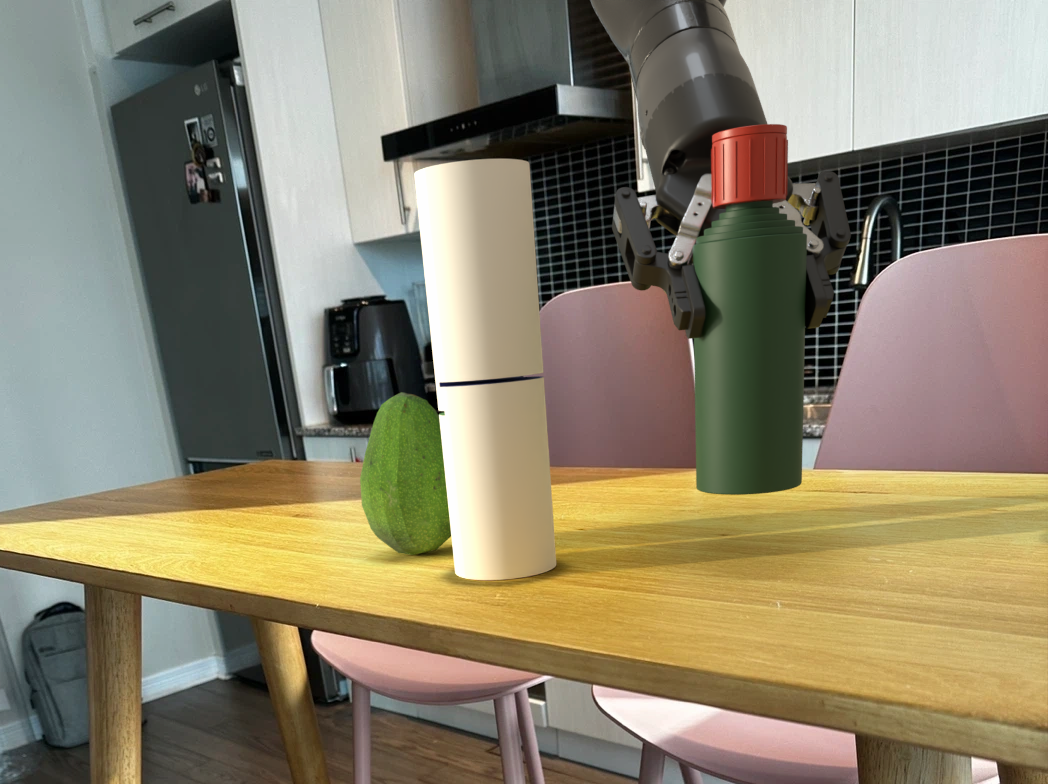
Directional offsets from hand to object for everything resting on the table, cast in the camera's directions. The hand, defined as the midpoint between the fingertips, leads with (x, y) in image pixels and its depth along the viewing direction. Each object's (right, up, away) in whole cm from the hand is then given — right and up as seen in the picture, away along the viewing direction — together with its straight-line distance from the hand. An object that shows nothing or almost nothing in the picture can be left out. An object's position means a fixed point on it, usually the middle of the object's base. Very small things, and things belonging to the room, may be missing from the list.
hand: (757, 321), depth 59 cm
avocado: (-21, -10, +21) cm, 31 cm away
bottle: (+1, -8, +5) cm, 10 cm away
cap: (-1, +6, -1) cm, 7 cm away
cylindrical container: (-15, -12, +13) cm, 23 cm away
